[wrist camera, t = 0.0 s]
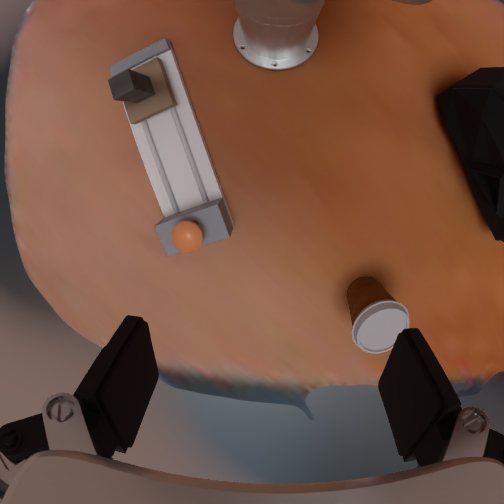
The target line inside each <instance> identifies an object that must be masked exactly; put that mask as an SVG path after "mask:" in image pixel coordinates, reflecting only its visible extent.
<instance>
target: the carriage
mask: <svg viewBox="0 0 504 504" xmlns="http://www.w3.org/2000/svg"><path fill="white" fill-rule="evenodd" d="M108 81H109V85H110V88H111V92H112V95H113V98H114V100H119V101H123V102H124V105H125V109H126V112H127V115H128V118H129V121H130V124H137V123H140V122H142V121H144V120H146V119H148V118H150V117H152V116H154V115H156V114H159V113H161V112H163V111H165V110H167V109H170V108H172V107H174V106H177V103H176V100H175V97H174V94H173V91H172V88H171V85H170V82H169V79H168V76H167V73H166V71H165V68H164V65H163V62H162V60H161V59H159V58H158V57H157V58H154V59H152V60H150V61H148V62H146V63H144V64H142V65H140V66H138V67H136V68H134V69H133V70H130V69H127V70H125V71H123V72H121V73H119V74H118V75H116V76H114V77H112V78H111V79H109V80H108Z"/></svg>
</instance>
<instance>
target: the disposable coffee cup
mask: <svg viewBox="0 0 504 504" xmlns="http://www.w3.org/2000/svg"><path fill="white" fill-rule="evenodd" d="M347 298H348V303H349V308H350V314H351V320H352V325H353V327H352V338H353V341H354V342H355V344H356V345H357V346H358V347H359V348H361V349H362V350H364V351H365V352H368V353H374V354H376V353H383V352H386V351H388V350H391V349H392V348H393V346H394V343H395V341H396V338H397V336H398V334H399V333H401V332H402V330H403V329H409V314H408V311H407V309H406V308H405V306H403V305H402V304H401V303H399V302H397V301H396V300H395V299H394V298H393V297H392V296H391V295H390V294H389V293H388V292H387V291H386V290H385V289H384V288H383V287H382V286H381V285H380V284H379V283H378V282H377V281H376V280H375V279H373V278H371V277H362V278H359V279H357V280H355V281H354V282H353V283H352V284H351V285H350V287H349V289H348V292H347Z"/></svg>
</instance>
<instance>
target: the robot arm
mask: <svg viewBox="0 0 504 504" xmlns="http://www.w3.org/2000/svg"><path fill="white" fill-rule="evenodd" d="M233 1H234V4H235V7H236V11H237V14H238V18H237V20H236V22H235V25H234V29H233V39H234V42H235V45H236V48H237V50H238V51H239V53H240V54H241V55H242V56H243V57H244V58H245V59H246V60H247V61H248V62H250V63H252V64H253V65H255V66H257V67H260V68H263V69H267V70H275V71H280V70H288V69H292V68H295V67H297V66H300V65H301V64H303V63H304V62H306V61H307V60H308V59H309V58H310V57H311V56H312V54H313V53H314V51H315V49H316V47H317V44H318V40H319V33H318V29H317V25H316V21H317V19H318V16H319V14H320V12H321V10H322V7H323V5H324V3H325V1H326V0H233ZM392 1H396V2H400V3H404V4H410V5H421V4H426V3H428V2H430V1H432V0H392ZM242 48H245V49H244V50H242ZM306 51H309V53H307V52H306ZM274 64H276V65H277V66H276V67H274V66H273V65H274ZM158 376H159V373H158V368H157V364H156V360H155V355H154V351H153V346H152V342H151V337H150V332H149V327H148V323H147V322H146V321H144V320H143V318H142V317H137V316H130V315H128V316H126V317H125V319H124V320H123V322H122V323H121V325H120V326H119V328H118V329H117V331H116V332H115V333H114V335H113V336H112V338H111V340H110V341H109V343H108V344H107V346H105V347H104V348H103V349H102V350H101V352H100V353H99V355H98V357H97V358H96V360H95V361H94V363H93V364H92V366H91V367H90V369H89V370H88V372H87V374H86V375H85V377H84V379H83V380H82V382H81V383H80V385H79V387H78V388H77V390H76V392H75V393H74V395H71V394H69V393H57V394H55V395H52V396H51V397H49V398H48V399H47V400H46V402H45V403H44V405H43V408H42V413H41V414H37V415H34V416H31V417H28V418H25V419H22V420H18V421H15V422H11V423H8V424H6V425H3V426H2V427H1V428H0V504H504V435H502V434H500V433H498V432H496V431H494V430H492V429H489V428H490V422H489V418H488V416H487V415H486V414H485V412H484V411H483V410H481V409H479V408H477V407H473V406H472V407H466V408H464V409H463V410H462V408H461V406H460V405H461V402H460V400H459V398H458V396H457V394H456V392H455V391H454V389H453V387H452V385H451V383H450V381H449V380H448V378H447V376H446V374H445V372H444V371H443V369H442V367H441V365H440V364H439V362H438V360H437V358H436V357H435V355H434V353H433V352H432V350H431V348H430V347H429V345H428V343H427V342H426V340H425V338H424V337H423V335H422V333H421V332H420V330H419V329H418V328H409V329H403V330H402V332H401V333H399V334H398V336H397V338H396V341H395V343H394V346H393V349H392V351H391V354H390V356H389V359H388V361H387V364H386V366H385V368H384V371H383V373H382V375H381V378H380V380H379V384H378V388H379V392H380V395H381V398H382V401H383V404H384V407H385V410H386V413H387V416H388V419H389V423H390V426H391V429H392V432H393V436H394V439H395V443H396V446H397V449H398V453H399V455H400V456H403V459H404V462H408V461H412V460H416V459H417V462H418V465H417V467H416V468H415V469H411V470H406V471H401V472H396V473H391V474H386V475H380V476H375V477H369V478H362V479H355V480H347V481H337V482H325V483H311V484H310V483H309V484H254V483H253V484H252V483H238V482H226V481H217V480H208V479H201V478H194V477H188V476H182V475H176V474H171V473H166V472H162V471H156V470H152V469H148V468H143V467H139V466H135V465H131V464H127V463H124V462H120V461H116V460H113V458H112V456H113V454H114V452H115V451H118V452H122V453H126V451H127V448H128V447H132V446H133V443H134V441H135V438H136V435H137V433H138V430H139V427H140V425H141V422H142V419H143V417H144V414H145V411H146V409H147V406H148V404H149V401H150V398H151V396H152V394H153V391H154V389H155V386H156V383H157V381H158Z"/></svg>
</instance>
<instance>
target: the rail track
mask: <svg viewBox="0 0 504 504" xmlns="http://www.w3.org/2000/svg"><path fill="white" fill-rule="evenodd" d="M157 57H158V58H159V59H161V60H162V62H163V65H164V68H165V71H166V73H167V76H168V79H169V82H170V85H171V88H172V91H173V94H174V97H175V100H176V103H177V106H174V107H172V108H170V109H167V110H165V111H163V112H161V113H159V114H156V115H154V116H152V117H150V118H148V119H146V120H144V121H142V122H140V123H137V124H130V126H131V129H132V132H133V135H134V138H135V141H136V143H137V146H138V149H139V152H140V155H141V157H142V160H143V163H144V166H145V168H146V171H147V174H148V176H149V179H150V182H151V184H152V187H153V190H154V192H155V195H156V197H157V200H158V202H159V205H160V207H161V210H162V212H163V215H164V218H163V219H162V220H161V221H160V222H159V223H158V224H156V225H155V228H156V231H157V233H158V235H159V238H160V240H161V242H162V245H163V247H164V249H165V251H166V254H167V256H171V255H174V254H177V253H180V252H181V251H179V250H178V249H176V248H175V246H174V245H173V243H172V241H171V232H172V230H173V228H174V227H175V226H176V225H177V224H178V223H179V222H181V221H186V220H188V221H192V222H195V223H196V224H198V225H199V226H200V228H201V229H202V231H203V237H204V238H203V242H202V244H201V246H203V245H207V244H210V243H213V242H217V241H220V240H223V239H227V238H230V236H231V233H232V230H233V227H234V222H233V219H232V216H231V214H230V211H229V208H228V205H227V202H226V200H225V197H224V194H223V191H222V188H221V186H220V183H219V180H218V177H217V174H216V172H215V169H214V166H213V163H212V160H211V157H210V155H209V152H208V149H207V146H206V143H205V140H204V138H203V135H202V132H201V129H200V126H199V123H198V121H197V118H196V115H195V112H194V109H193V106H192V103H191V101H190V98H189V95H188V92H187V89H186V86H185V83H184V80H183V78H182V75H181V72H180V69H179V66H178V63H177V60H176V57H175V54H174V52H173V49H172V46H171V43H170V42H169V41H168V40H167V39H166V38H165V39H162V40H160V41H158V42H156V43H154V44H152V45H150V46H148V47H146V48H144V49H142V50H140V51H138V52H136V53H134V54H132V55H130V56H128V57H126V58H125V59H123V60H121V61H119V62H117V63H116V64H114V65H112V66H111V67H110V71H111V74H112V77H114V76H116V75H118V74H119V73H121V72H123V71H125V70H127V69H130V70H133V69H134V68H136V67H138V66H140V65H142V64H144V63H146V62H148V61H150V60H152V59H154V58H157ZM123 105H124V102H123ZM124 108H125V105H124ZM125 111H126V109H125ZM126 114H127V112H126ZM127 117H128V115H127ZM128 120H129V118H128ZM129 123H130V121H129Z"/></svg>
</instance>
